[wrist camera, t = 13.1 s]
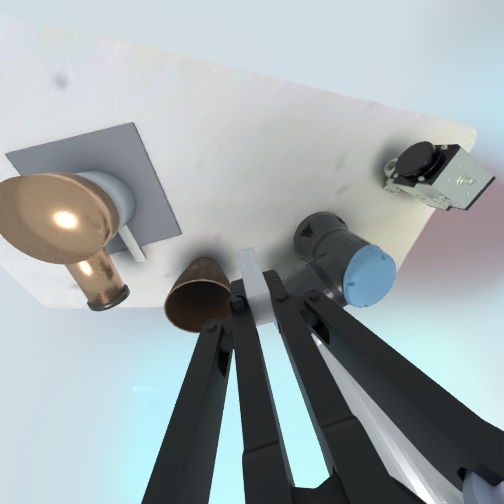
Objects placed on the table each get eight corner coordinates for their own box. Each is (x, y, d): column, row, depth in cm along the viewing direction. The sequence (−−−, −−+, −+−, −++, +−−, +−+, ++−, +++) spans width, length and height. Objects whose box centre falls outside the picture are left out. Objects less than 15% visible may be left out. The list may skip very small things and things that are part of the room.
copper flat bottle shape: (9, 177, 30) (-43, 183, 24) (99, 166, 31) (72, 169, 25) (85, 293, 41) (62, 318, 35) (150, 282, 42) (139, 303, 36)
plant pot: (241, 274, 58) (249, 313, 44) (199, 298, 59) (194, 343, 45) (211, 235, 51) (210, 266, 37) (165, 263, 52) (147, 304, 38)
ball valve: (360, 176, 50) (425, 187, 35) (381, 142, 47) (462, 137, 32) (404, 203, 56) (476, 222, 41) (425, 174, 53) (513, 183, 38)
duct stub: (187, 246, 51) (181, 268, 42) (97, 271, 50) (69, 300, 41) (133, 123, 38) (105, 113, 28) (9, 153, 37) (-64, 154, 27)
